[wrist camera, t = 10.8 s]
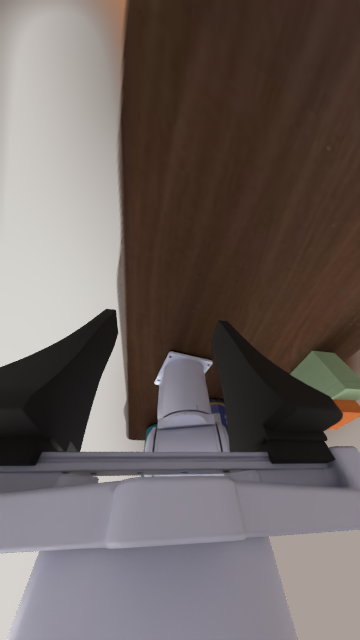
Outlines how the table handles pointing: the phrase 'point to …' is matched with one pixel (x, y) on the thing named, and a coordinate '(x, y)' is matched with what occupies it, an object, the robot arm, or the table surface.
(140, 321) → the table surface
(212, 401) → the pill bottle
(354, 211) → the table surface
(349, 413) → the pad
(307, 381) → the green faceted block
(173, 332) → the table surface
